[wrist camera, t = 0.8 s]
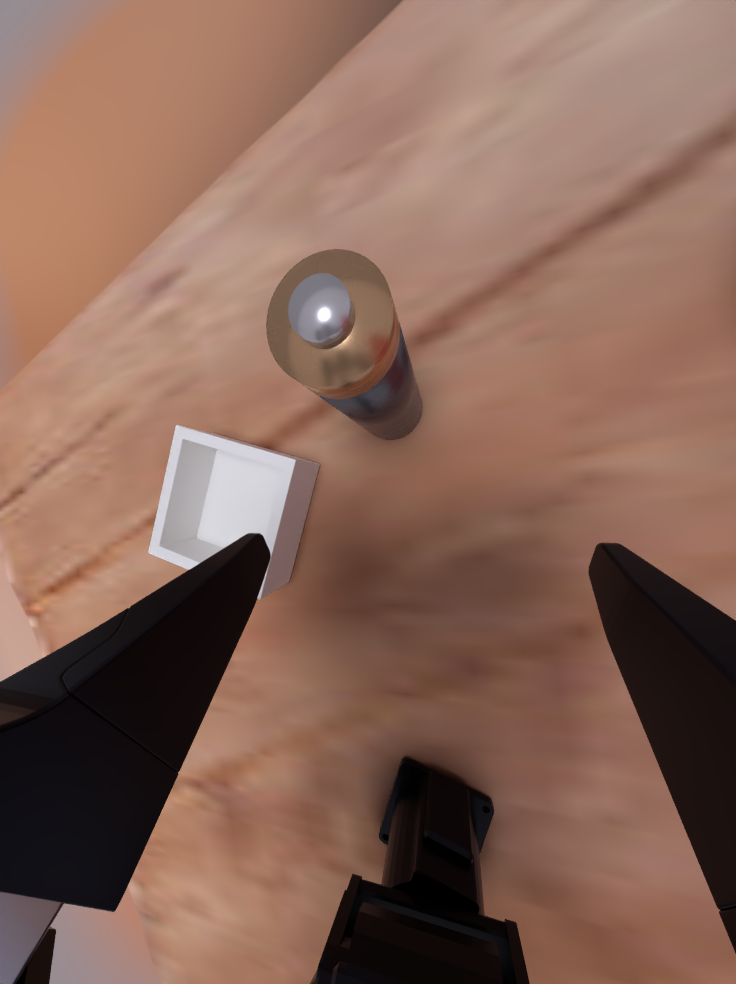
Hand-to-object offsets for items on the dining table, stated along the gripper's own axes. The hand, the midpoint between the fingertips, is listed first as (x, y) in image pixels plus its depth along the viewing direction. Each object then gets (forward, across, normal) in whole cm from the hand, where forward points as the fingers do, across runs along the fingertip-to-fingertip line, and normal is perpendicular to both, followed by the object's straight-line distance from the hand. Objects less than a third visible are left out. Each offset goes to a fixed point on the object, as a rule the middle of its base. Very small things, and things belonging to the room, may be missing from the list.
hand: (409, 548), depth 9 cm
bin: (+12, +14, +7) cm, 20 cm away
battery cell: (+15, +3, +1) cm, 16 cm away
